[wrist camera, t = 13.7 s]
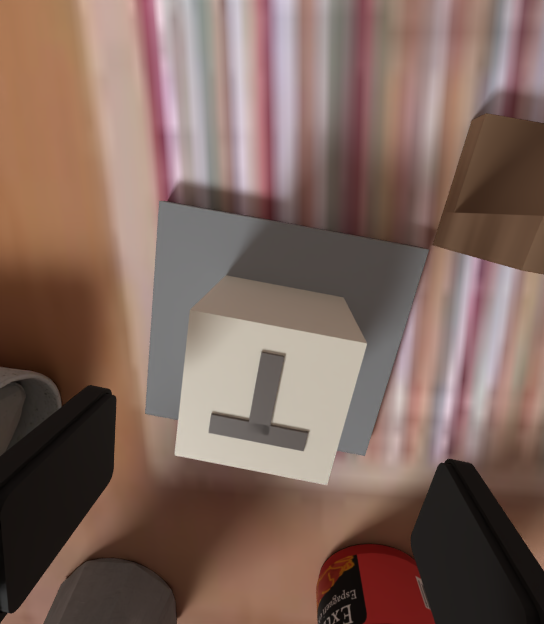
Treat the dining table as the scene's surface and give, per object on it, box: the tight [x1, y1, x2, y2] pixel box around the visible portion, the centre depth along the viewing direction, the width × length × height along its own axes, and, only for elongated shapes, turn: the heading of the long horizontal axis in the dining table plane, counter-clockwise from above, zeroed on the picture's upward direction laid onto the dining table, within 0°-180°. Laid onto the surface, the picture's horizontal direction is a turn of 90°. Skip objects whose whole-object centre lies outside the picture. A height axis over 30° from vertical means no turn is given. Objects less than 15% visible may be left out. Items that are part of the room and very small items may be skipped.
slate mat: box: [145, 201, 429, 456], centre depth 18 cm, size 13×12×1 cm
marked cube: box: [175, 275, 367, 485], centre depth 15 cm, size 6×6×6 cm
